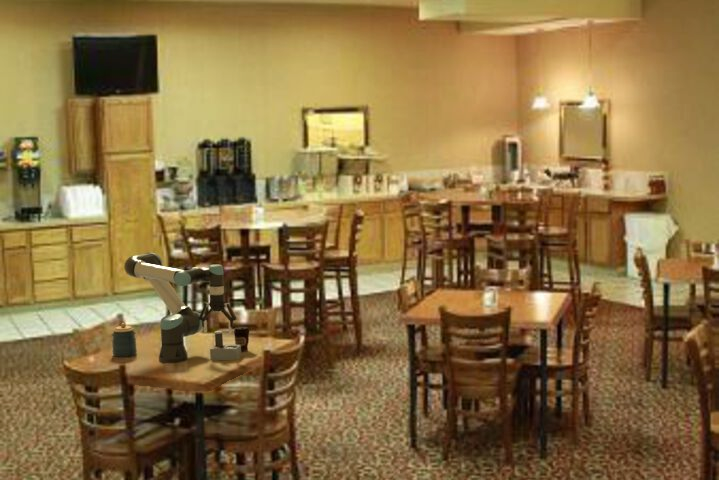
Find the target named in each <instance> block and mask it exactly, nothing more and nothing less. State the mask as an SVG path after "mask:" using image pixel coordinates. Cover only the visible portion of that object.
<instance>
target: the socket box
mask: <svg viewBox="0 0 719 480" xmlns="http://www.w3.org/2000/svg"><path fill="white" fill-rule="evenodd" d="M209 354H210V355H209V356H210V361H237V360H238V359H239V358H241V357H242V352H241V345H235V344H223V348H220V347H215V345H213V346H212V347H210V348H209Z"/></svg>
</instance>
